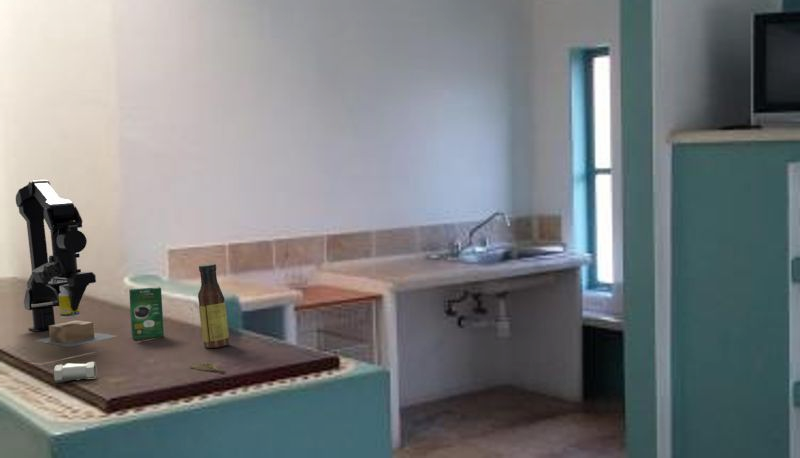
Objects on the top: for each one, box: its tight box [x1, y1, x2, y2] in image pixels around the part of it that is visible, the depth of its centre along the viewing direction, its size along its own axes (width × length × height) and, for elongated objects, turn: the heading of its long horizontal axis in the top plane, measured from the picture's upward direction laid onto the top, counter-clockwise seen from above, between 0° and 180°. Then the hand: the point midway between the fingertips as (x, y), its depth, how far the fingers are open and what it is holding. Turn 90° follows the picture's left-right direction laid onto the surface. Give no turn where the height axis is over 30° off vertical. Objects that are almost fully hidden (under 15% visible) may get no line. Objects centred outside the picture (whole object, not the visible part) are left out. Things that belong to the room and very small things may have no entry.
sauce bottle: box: [197, 263, 230, 349], centre depth 221 cm, size 6×6×20 cm
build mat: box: [33, 332, 118, 348], centre depth 241 cm, size 18×14×1 cm
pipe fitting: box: [53, 361, 98, 384], centre depth 196 cm, size 8×4×7 cm
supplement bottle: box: [59, 284, 80, 319], centre depth 240 cm, size 5×5×8 cm
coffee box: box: [128, 286, 165, 340], centre depth 237 cm, size 8×3×13 cm, turn 110°
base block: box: [48, 320, 95, 343], centre depth 240 cm, size 8×8×4 cm
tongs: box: [189, 362, 227, 375], centre depth 197 cm, size 4×13×2 cm, turn 45°
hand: (69, 310), depth 240 cm, fingers closed on supplement bottle, 5 cm apart
